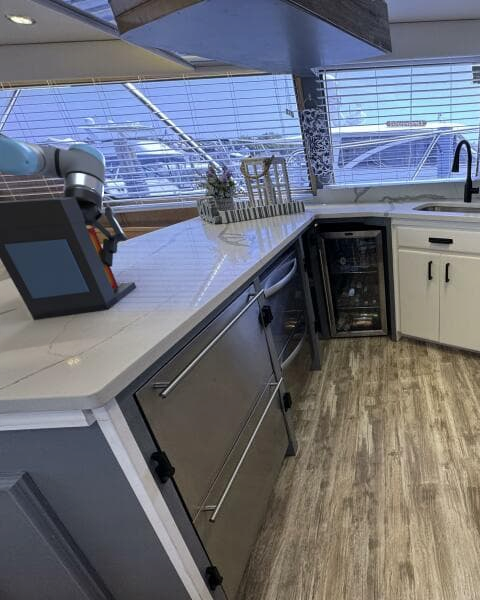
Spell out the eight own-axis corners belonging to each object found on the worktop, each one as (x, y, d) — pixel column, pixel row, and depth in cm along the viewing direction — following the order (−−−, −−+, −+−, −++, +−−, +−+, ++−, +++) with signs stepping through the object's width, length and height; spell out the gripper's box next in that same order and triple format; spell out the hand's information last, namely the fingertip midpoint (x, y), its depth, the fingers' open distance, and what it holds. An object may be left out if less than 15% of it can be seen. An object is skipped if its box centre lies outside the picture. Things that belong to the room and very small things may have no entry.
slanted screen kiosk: (32, 320, 71) (-32, 204, 61) (74, 294, 86) (28, 197, 76) (107, 310, 75) (58, 199, 65) (136, 287, 90) (99, 193, 80)
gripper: (144, 202, 92) (142, 268, 84) (38, 209, 85) (26, 281, 78) (129, 183, 85) (125, 253, 77) (12, 189, 78) (-4, 266, 71)
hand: (75, 267), depth 77 cm, fingers open, 12 cm apart
